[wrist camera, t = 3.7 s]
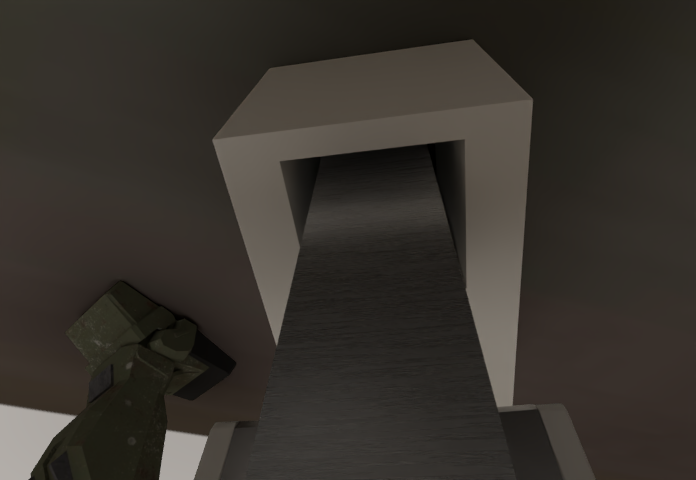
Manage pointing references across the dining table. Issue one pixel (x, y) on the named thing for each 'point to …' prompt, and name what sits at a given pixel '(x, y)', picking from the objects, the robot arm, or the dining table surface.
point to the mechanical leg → (129, 388)
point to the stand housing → (381, 133)
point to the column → (378, 339)
